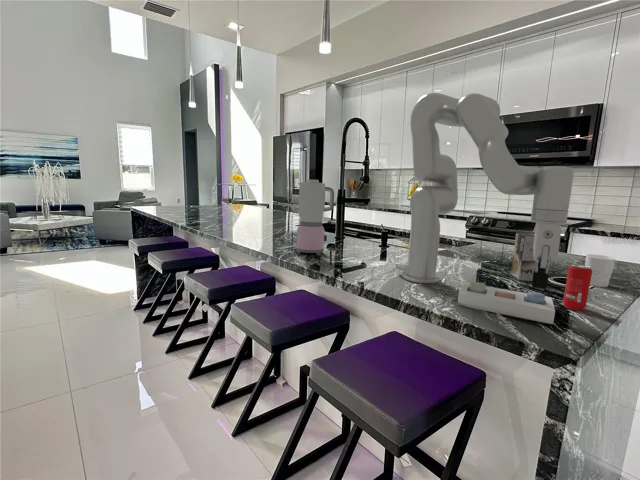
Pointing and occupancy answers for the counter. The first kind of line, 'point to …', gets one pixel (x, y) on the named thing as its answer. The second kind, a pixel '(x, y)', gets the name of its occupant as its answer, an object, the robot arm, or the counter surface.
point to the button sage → (477, 287)
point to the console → (507, 304)
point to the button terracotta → (505, 295)
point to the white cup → (600, 269)
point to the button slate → (535, 297)
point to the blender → (312, 216)
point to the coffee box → (523, 257)
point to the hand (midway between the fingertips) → (538, 287)
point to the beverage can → (577, 287)
